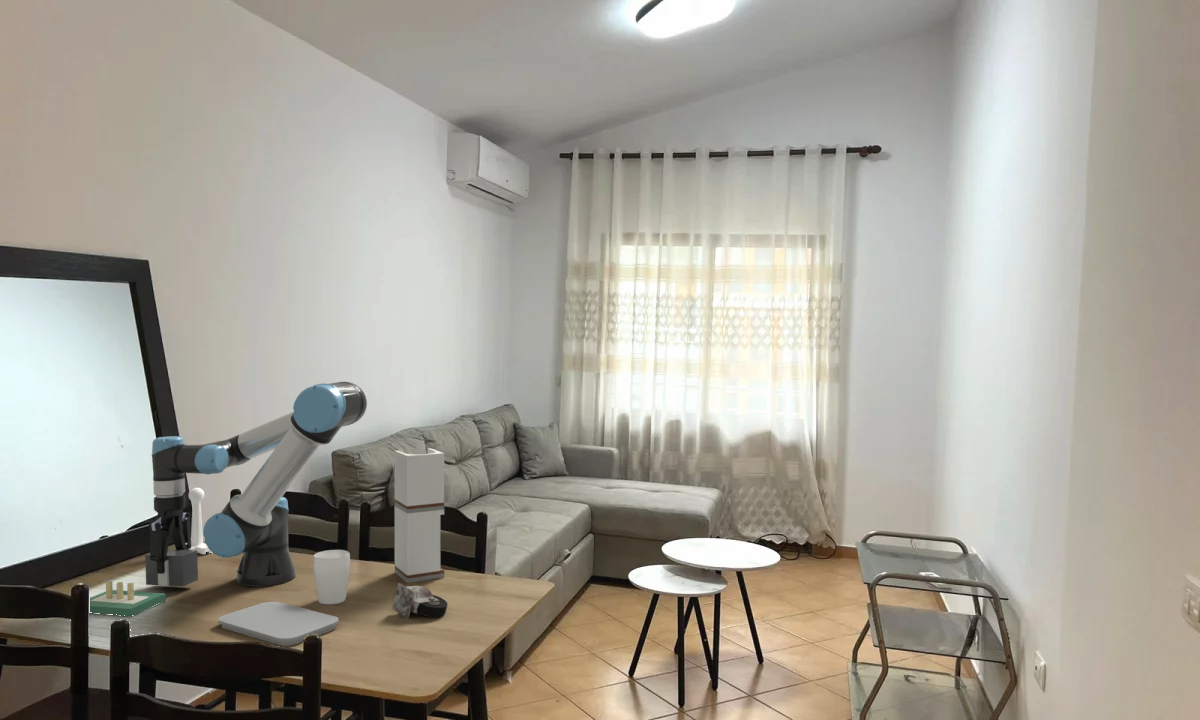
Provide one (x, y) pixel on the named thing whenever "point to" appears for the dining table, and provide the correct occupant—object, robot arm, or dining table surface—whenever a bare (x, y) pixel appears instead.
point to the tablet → (278, 622)
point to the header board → (123, 600)
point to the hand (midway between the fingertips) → (172, 581)
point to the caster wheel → (418, 602)
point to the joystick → (197, 522)
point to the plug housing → (175, 568)
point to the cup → (331, 575)
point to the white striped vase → (418, 515)
